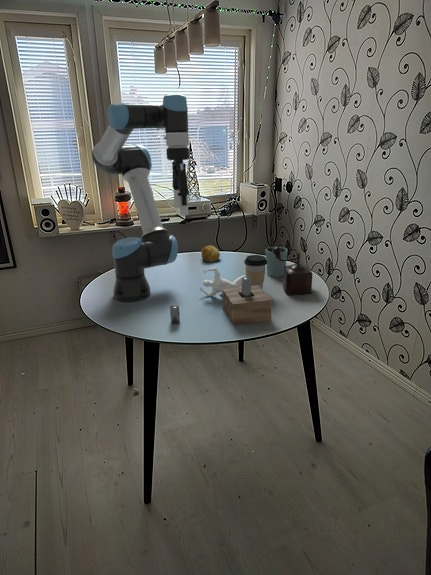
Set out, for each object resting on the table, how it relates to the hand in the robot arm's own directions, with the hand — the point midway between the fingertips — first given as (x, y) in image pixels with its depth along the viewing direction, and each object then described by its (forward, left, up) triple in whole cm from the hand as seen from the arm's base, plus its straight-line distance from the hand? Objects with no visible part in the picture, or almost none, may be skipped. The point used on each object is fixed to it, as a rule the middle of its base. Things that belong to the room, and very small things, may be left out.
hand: (181, 211), depth 133 cm
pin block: (+13, +20, -37) cm, 44 cm away
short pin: (+12, -6, -37) cm, 39 cm away
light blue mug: (-24, +46, -37) cm, 64 cm away
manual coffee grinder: (-4, +45, -37) cm, 58 cm away
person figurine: (-5, +17, -37) cm, 41 cm away
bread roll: (-56, +22, -37) cm, 71 cm away
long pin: (+13, +20, -37) cm, 44 cm away
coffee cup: (-6, +30, -37) cm, 48 cm away
